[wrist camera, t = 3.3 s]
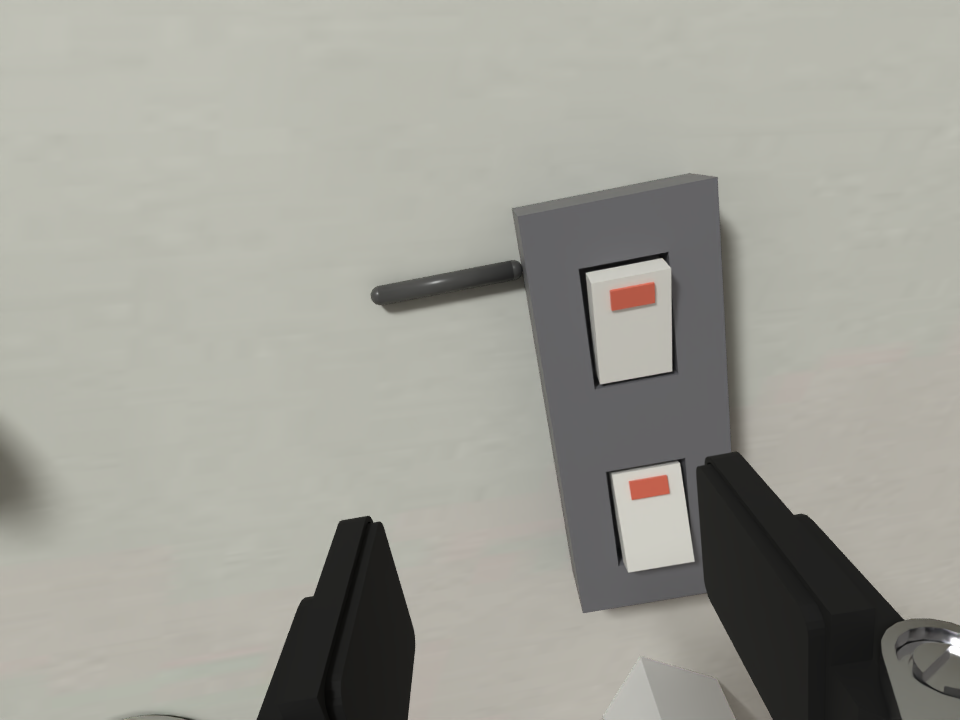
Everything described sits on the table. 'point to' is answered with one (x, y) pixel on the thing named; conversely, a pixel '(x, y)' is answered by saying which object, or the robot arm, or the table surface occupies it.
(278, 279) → the table surface
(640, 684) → the pale grey cube
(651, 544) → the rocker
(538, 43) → the table surface
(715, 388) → the rocker switch panel
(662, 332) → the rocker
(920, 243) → the table surface
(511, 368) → the table surface
